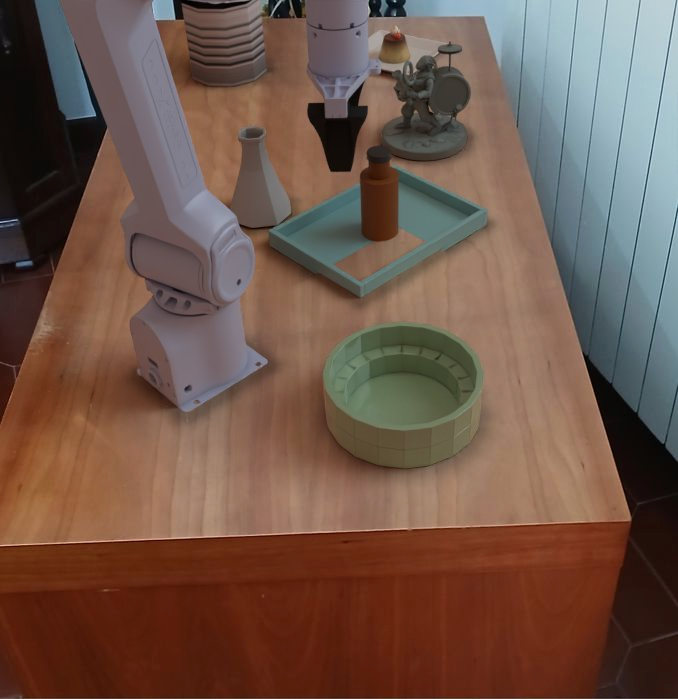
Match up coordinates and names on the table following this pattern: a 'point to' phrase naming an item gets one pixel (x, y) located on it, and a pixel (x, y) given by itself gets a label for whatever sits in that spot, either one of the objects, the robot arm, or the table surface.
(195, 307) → the robot arm
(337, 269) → the tray
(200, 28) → the can
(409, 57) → the dessert
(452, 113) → the figurine
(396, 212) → the brown cylinder
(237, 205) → the flask
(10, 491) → the table surface
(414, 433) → the bowl
